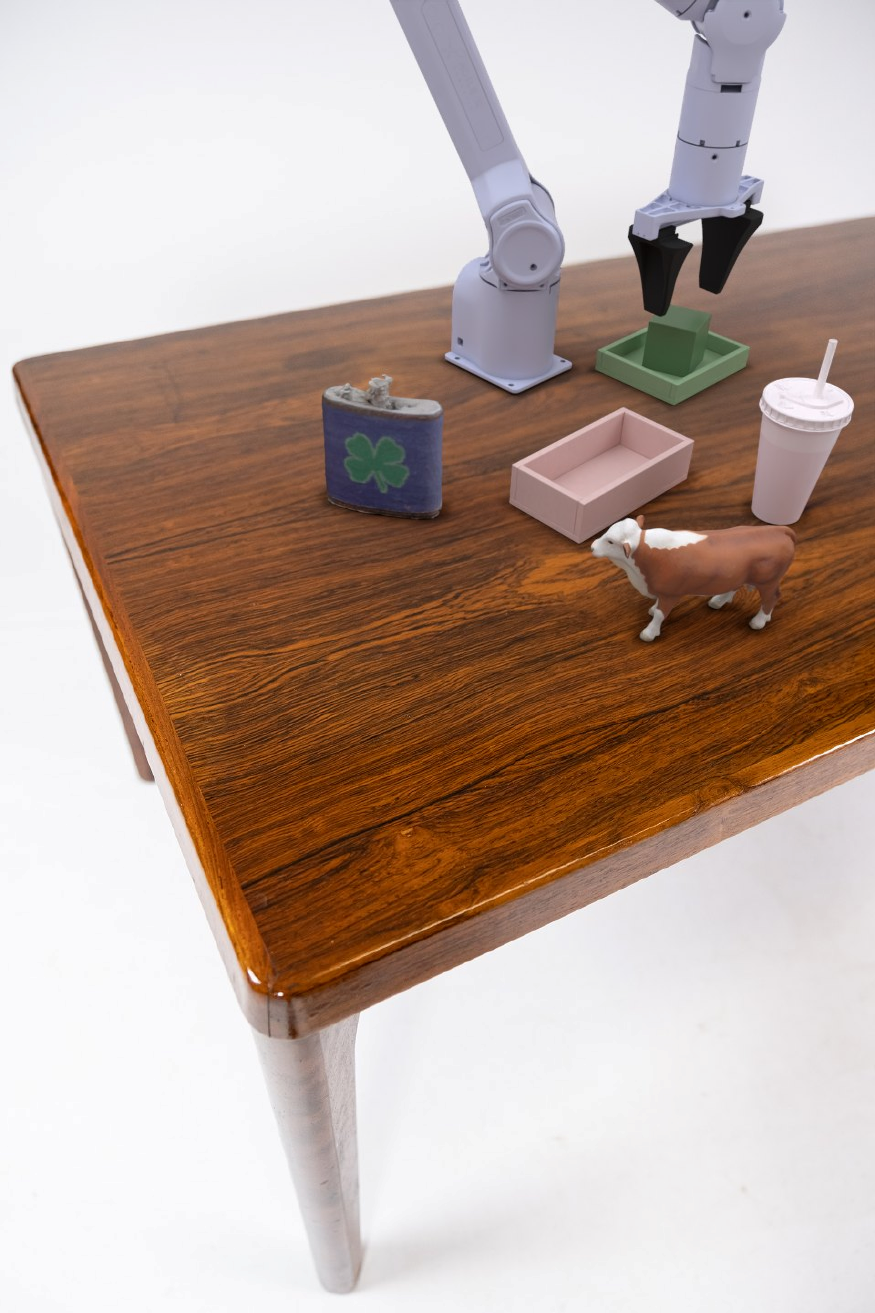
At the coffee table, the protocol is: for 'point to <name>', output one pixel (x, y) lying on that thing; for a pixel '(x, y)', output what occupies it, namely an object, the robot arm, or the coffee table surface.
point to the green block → (676, 341)
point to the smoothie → (796, 441)
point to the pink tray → (600, 473)
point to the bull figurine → (699, 564)
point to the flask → (382, 451)
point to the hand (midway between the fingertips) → (682, 301)
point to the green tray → (627, 367)
